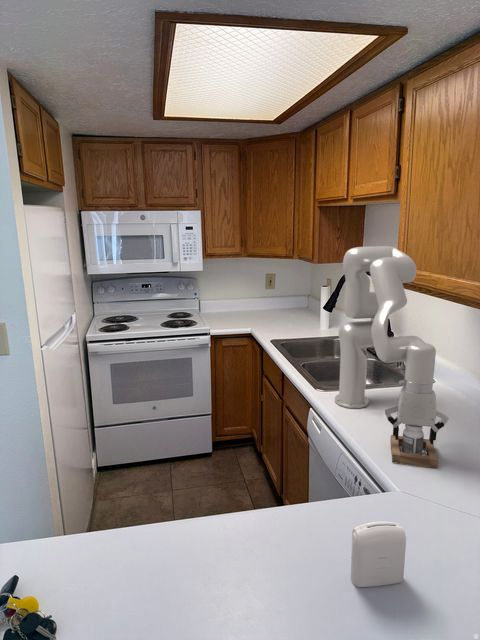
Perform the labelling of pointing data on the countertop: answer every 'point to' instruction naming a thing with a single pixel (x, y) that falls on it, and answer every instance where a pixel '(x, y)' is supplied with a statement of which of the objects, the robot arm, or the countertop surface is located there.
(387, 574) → the photo printer
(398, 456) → the walnut dock
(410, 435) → the pill bottle
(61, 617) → the countertop surface
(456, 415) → the countertop surface
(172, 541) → the countertop surface
